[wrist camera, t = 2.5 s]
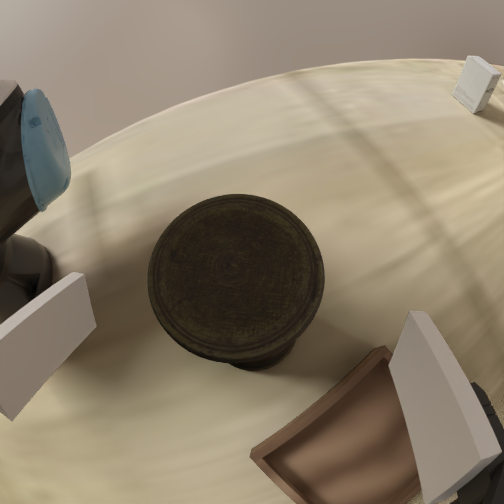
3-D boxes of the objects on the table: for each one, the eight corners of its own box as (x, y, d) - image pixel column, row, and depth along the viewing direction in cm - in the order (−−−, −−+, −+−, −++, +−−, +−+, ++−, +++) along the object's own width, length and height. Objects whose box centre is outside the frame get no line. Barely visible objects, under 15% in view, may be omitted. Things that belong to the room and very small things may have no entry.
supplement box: (473, 114, 44) (493, 74, 32) (450, 94, 46) (467, 54, 35) (484, 110, 45) (502, 74, 33) (462, 92, 48) (478, 55, 36)
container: (285, 278, 31) (298, 169, 15) (306, 358, 28) (356, 337, 11) (205, 297, 31) (135, 208, 15) (220, 378, 27) (150, 382, 11)
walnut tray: (251, 449, 24) (249, 456, 21) (374, 348, 27) (384, 345, 25) (342, 534, 18) (348, 546, 15) (450, 439, 21) (463, 442, 19)
